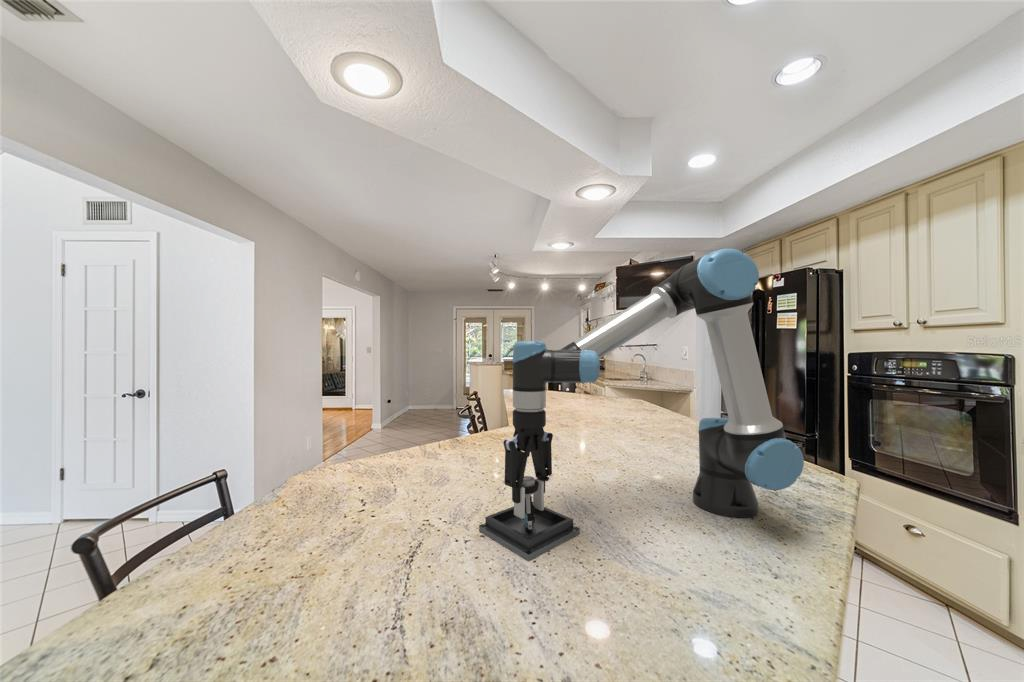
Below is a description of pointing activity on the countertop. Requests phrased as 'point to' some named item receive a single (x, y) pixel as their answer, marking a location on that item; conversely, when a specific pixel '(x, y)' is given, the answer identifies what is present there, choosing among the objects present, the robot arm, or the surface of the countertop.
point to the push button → (529, 500)
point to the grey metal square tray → (529, 531)
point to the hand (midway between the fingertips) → (529, 512)
